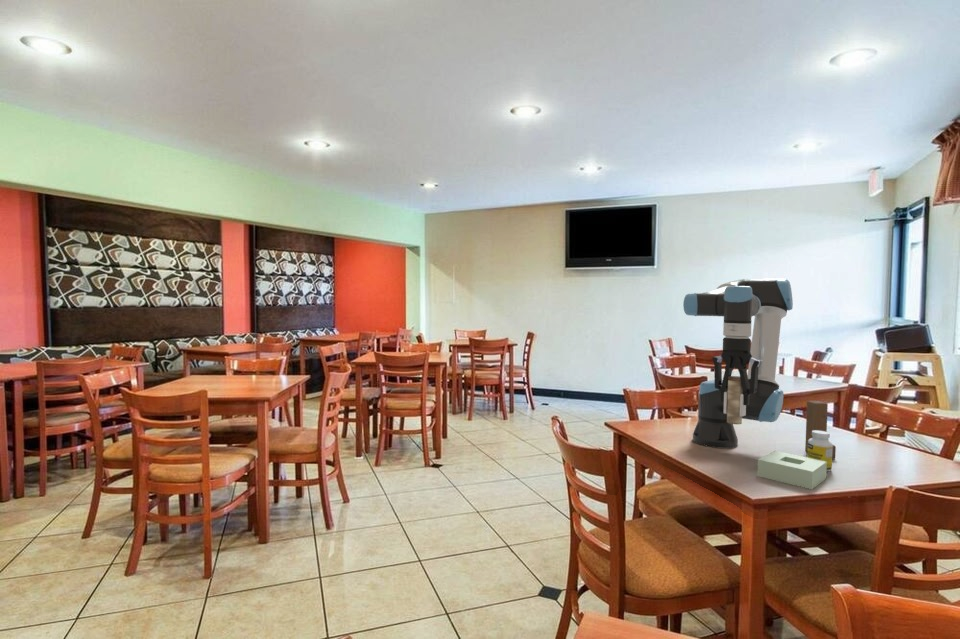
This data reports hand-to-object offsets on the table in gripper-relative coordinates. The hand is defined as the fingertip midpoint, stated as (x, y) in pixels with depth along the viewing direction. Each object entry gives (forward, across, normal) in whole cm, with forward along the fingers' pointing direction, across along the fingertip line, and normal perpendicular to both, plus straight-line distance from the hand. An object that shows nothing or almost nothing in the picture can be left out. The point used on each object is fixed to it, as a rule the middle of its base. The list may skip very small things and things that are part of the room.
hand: (734, 414), depth 150 cm
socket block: (+18, +13, +10) cm, 24 cm away
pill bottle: (+18, +16, +26) cm, 35 cm away
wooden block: (+19, +12, +43) cm, 48 cm away
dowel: (+3, 0, 0) cm, 3 cm away
